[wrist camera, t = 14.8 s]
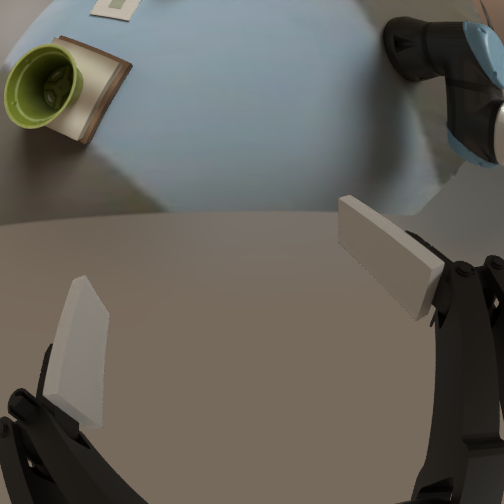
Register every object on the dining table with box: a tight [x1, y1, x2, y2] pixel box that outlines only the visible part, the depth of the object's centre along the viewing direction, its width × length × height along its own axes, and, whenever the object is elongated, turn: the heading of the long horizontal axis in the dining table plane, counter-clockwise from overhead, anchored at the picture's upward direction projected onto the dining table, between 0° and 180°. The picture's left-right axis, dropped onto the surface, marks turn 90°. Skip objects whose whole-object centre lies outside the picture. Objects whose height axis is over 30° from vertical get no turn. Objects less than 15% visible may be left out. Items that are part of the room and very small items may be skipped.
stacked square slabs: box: [45, 35, 133, 144], centre depth 27 cm, size 13×13×6 cm
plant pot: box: [4, 44, 83, 129], centre depth 21 cm, size 9×9×9 cm
